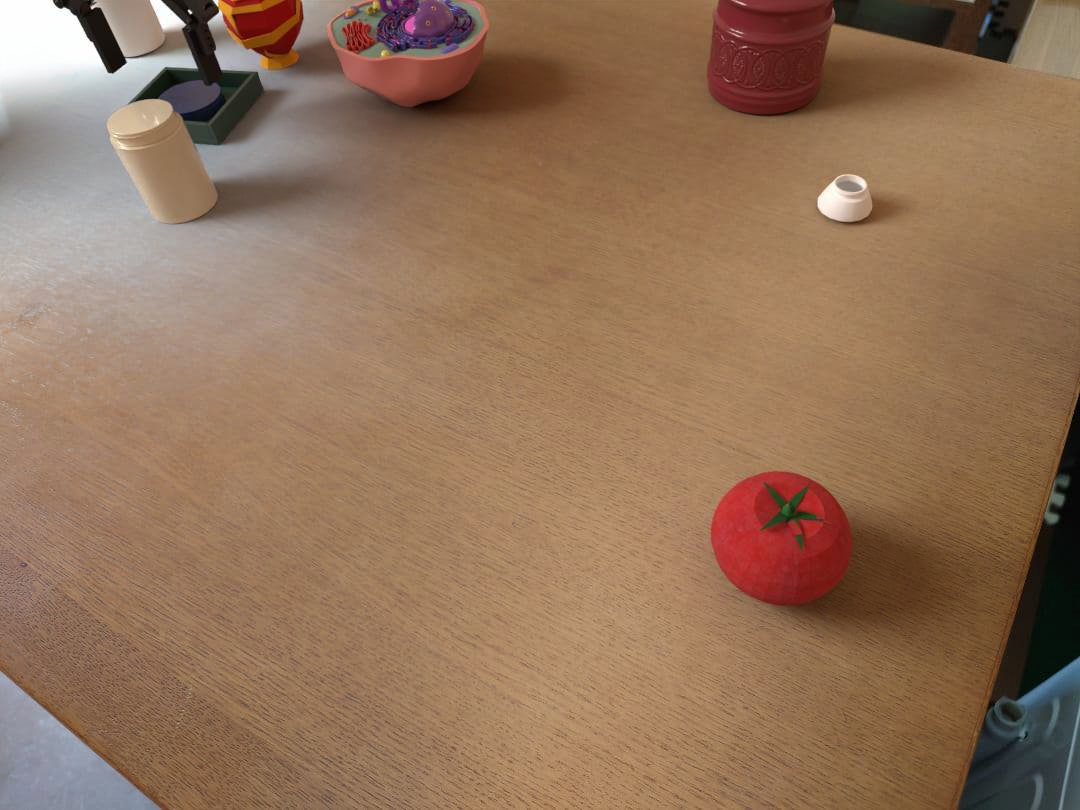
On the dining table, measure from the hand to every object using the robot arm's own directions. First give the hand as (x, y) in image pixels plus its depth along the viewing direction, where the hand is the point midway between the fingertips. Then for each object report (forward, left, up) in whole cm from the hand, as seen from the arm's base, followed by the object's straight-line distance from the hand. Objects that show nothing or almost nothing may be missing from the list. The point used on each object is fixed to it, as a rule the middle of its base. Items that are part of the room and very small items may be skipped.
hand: (165, 74), depth 92 cm
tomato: (+73, -48, -6) cm, 87 cm away
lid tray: (+1, +1, -6) cm, 6 cm away
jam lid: (+1, +1, -4) cm, 4 cm away
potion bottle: (+6, +15, -6) cm, 17 cm away
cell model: (+28, +9, -6) cm, 30 cm away
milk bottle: (-17, +17, -6) cm, 25 cm away
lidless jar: (+78, -8, -6) cm, 78 cm away
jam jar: (+9, -16, -6) cm, 19 cm away
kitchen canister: (+69, +14, -6) cm, 70 cm away
